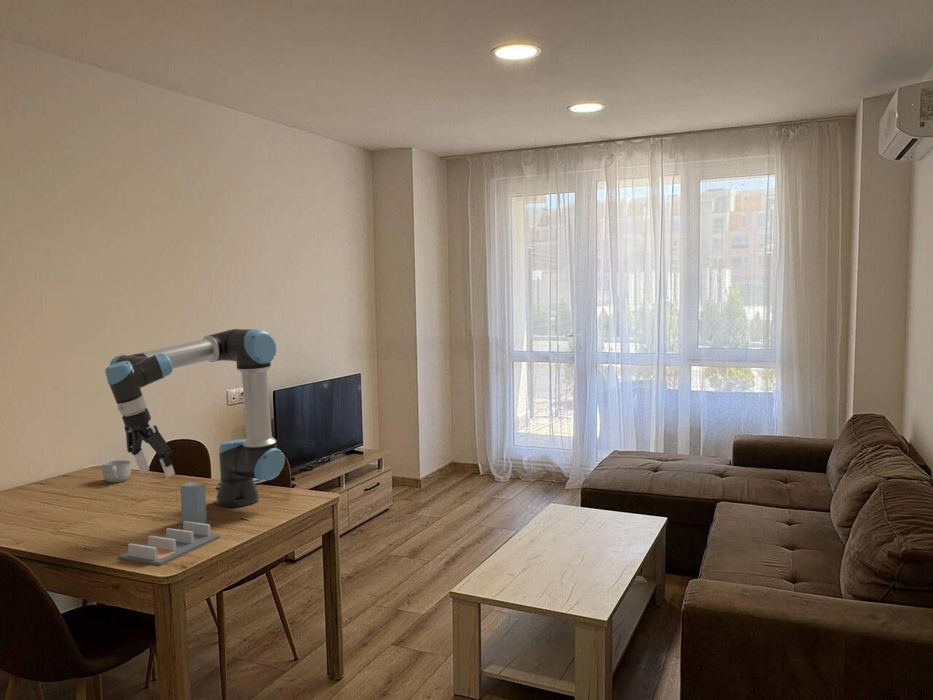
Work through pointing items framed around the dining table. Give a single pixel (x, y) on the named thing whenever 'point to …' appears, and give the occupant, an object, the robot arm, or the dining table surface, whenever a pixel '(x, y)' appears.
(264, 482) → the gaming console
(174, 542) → the rack
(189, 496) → the tall grey pillar
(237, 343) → the robot arm
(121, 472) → the teacup
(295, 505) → the dining table surface
